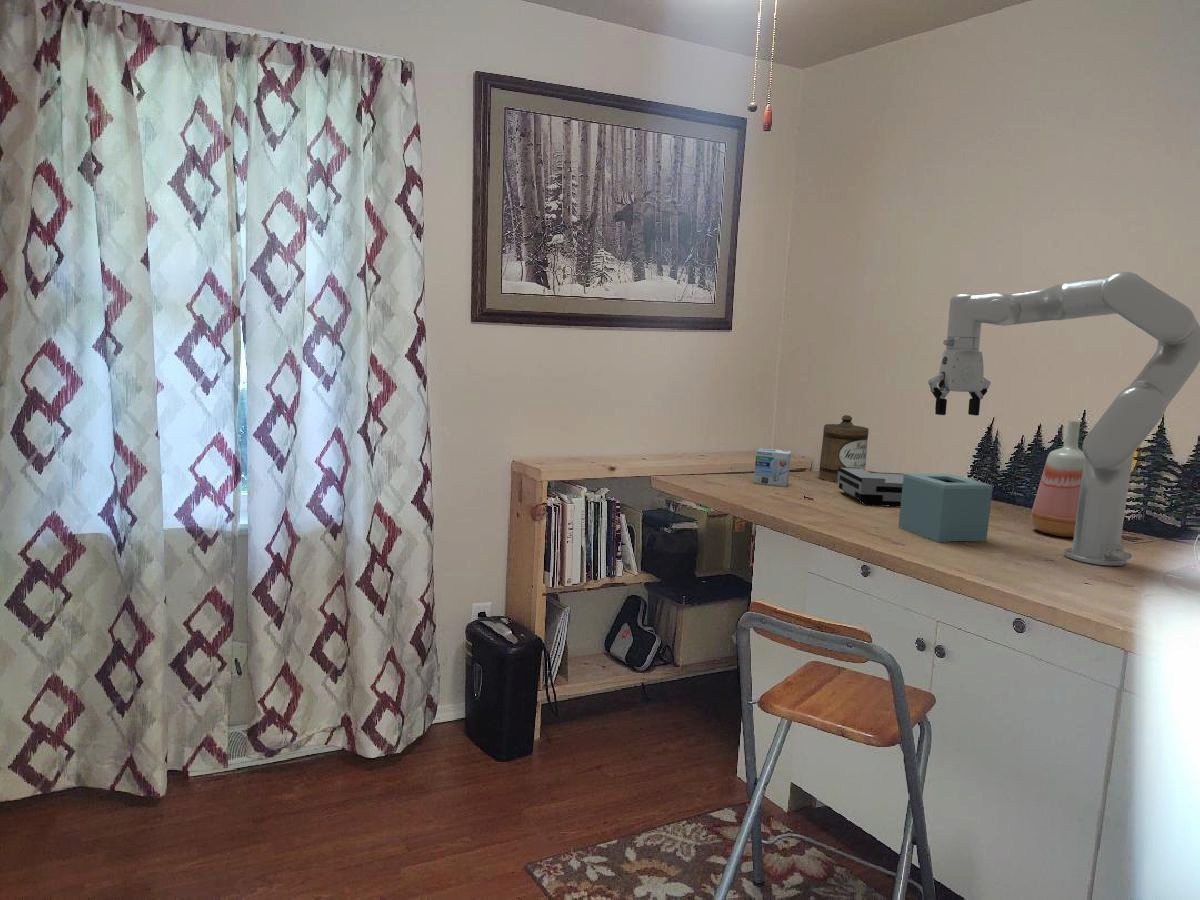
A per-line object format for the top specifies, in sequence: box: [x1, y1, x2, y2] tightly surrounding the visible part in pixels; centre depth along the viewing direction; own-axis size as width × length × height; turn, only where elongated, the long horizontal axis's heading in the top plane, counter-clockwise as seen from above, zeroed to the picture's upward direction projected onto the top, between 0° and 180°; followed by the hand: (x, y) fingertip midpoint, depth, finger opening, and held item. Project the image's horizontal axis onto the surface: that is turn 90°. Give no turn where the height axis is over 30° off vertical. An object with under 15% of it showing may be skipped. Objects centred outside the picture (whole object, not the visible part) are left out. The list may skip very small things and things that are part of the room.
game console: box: [837, 467, 905, 507], centre depth 269 cm, size 21×32×8 cm, turn 94°
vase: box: [1030, 420, 1085, 538], centre depth 231 cm, size 14×14×30 cm
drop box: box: [898, 473, 994, 543], centre depth 224 cm, size 16×14×14 cm
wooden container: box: [818, 414, 869, 483], centre depth 301 cm, size 15×15×22 cm
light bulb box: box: [753, 447, 792, 488], centre depth 286 cm, size 11×7×11 cm, turn 73°
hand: (957, 414), depth 221 cm, fingers open, 9 cm apart
